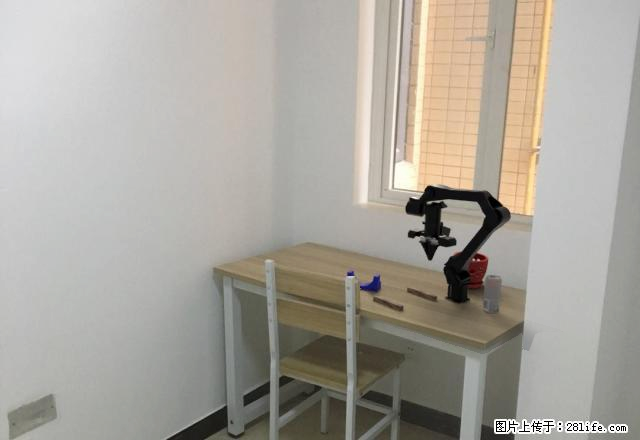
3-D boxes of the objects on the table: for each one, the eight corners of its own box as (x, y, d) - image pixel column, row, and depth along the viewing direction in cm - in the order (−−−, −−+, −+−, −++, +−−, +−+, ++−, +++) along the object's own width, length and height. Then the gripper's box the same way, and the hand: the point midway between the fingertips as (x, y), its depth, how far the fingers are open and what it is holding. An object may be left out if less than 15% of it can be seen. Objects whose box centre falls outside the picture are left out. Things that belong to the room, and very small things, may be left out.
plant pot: (447, 287, 227) (449, 256, 224) (455, 278, 238) (457, 249, 236) (482, 292, 221) (484, 261, 219) (488, 283, 233) (491, 253, 230)
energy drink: (495, 308, 205) (498, 274, 203) (501, 313, 200) (504, 279, 198) (480, 308, 205) (483, 274, 203) (485, 313, 200) (488, 279, 197)
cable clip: (380, 288, 223) (381, 273, 222) (376, 292, 219) (377, 276, 218) (350, 284, 228) (351, 269, 227) (346, 287, 224) (347, 272, 223)
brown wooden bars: (436, 299, 212) (437, 295, 212) (400, 310, 200) (400, 306, 200) (409, 290, 222) (410, 286, 222) (373, 300, 210) (373, 296, 210)
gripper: (467, 221, 213) (464, 262, 216) (427, 212, 227) (425, 251, 230) (447, 224, 206) (444, 267, 209) (407, 215, 220) (405, 256, 224)
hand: (430, 260), depth 218 cm, fingers closed
